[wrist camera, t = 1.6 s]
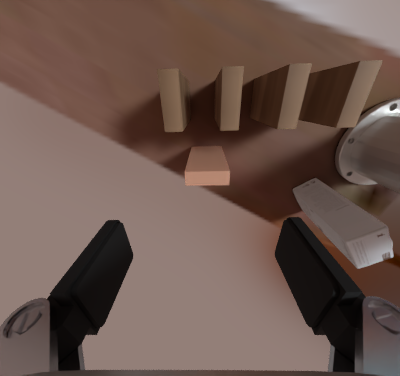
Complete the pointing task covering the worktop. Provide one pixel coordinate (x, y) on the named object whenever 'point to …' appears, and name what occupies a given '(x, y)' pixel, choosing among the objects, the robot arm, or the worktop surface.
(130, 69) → the worktop surface
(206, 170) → the end tile
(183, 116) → the domino
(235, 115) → the domino
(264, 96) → the domino
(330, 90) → the domino
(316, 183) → the skincare box
